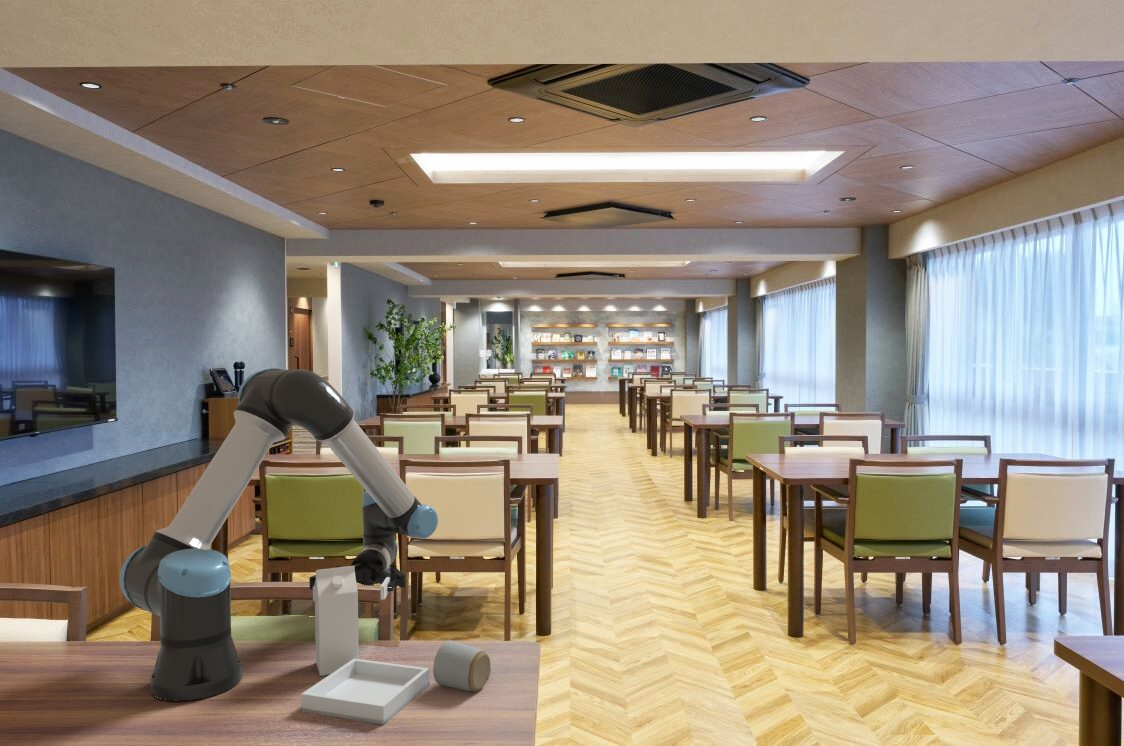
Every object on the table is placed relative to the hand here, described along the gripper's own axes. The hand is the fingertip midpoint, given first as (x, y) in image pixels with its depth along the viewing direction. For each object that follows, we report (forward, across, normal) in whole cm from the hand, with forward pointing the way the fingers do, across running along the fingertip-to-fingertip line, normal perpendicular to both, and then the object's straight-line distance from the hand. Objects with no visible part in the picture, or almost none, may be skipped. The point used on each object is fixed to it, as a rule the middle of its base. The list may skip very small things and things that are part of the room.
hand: (348, 593), depth 158 cm
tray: (+23, -9, -11) cm, 27 cm away
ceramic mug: (+18, -25, -11) cm, 33 cm away
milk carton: (+10, 0, -11) cm, 15 cm away
